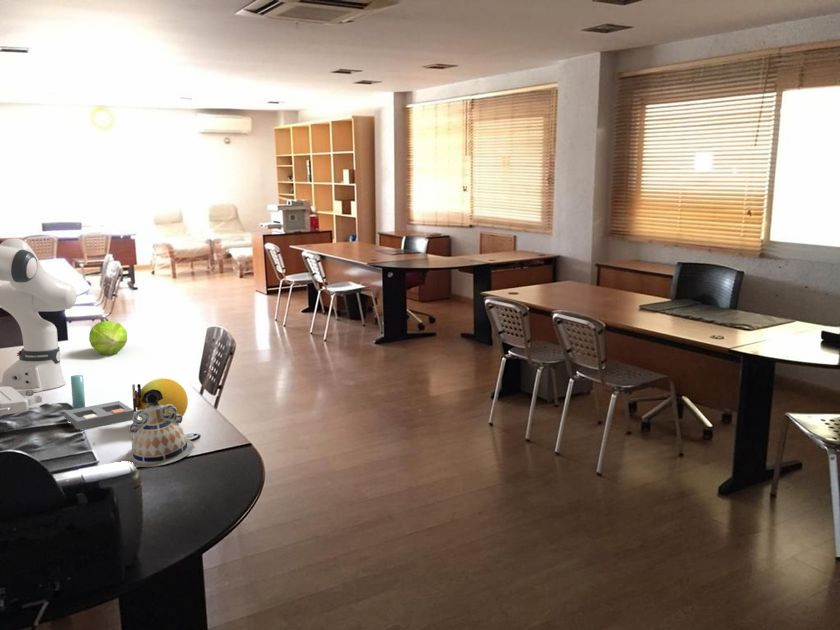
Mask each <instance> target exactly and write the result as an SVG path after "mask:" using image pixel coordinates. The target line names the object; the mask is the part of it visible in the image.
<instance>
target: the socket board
mask: <svg viewBox="0 0 840 630" xmlns="http://www.w3.org/2000/svg"><path fill="white" fill-rule="evenodd" d="M134 413H135V412H134V410H133V409H132V407H130V406H128V405H126V404H125V403H123V402H122V401H120V400H117V401H111V402H106V403H105V402H104V403H100V404H96V405H88V406H85V407H83V408H78V409H73V408H72V409H69V410H68V409H67V410H63V418H64V417H65V418H66V419H67V420H68V421H69V422H71V423H72V424H73V425H74V426H75V427H76V428H77V429H83V430H82V431H84V430H89V429H94V428H99V427H104V426H110V425H113V424H118V423H123V422H128V421H132V418H133V414H134Z"/></svg>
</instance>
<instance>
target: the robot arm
mask: <svg viewBox="0 0 840 630" xmlns="http://www.w3.org/2000/svg"><path fill="white" fill-rule="evenodd" d="M0 281H5V282H6V283H3V284H1V285H0V308H1V309H2V310H4V311H5V312H7V313H9V314H10V315H11V316H12V317H13V318H14V320H15V321H16V322H17V324H18V325H19V328H20V331H21V335H22V344H23V345H22V346H23V348H22V349H21V350H19V351H18V352H17V353H16V357H18V360H16V362H13V364H11V365H10V366H9V367H8V368H6V369H5V370H4V371H3V374H2V378H1V379H2V380H1V382H0V415H11V414H12V415H13V414H18V413H26V412H28V411H29V410H30V408H29V407H30V406H33V405H35V404H38V403H42V402H43V397H42V396H40V395H36V396H33V395H34V393H39V392H42V391H47V390H52V389H56V388H59V387H62V386H65V385H66V380H65V378H64V375H63V371H62V367H61V350H60V347H59V344H58V343H59V342H58V329H57V327H56V326H55V324H54V323H53V322H51V321H48V320H47V319H44V318H43V317H41V315H40V314H39V312H59V311H60V312H61V311H64V310H65V311H66V310H70V309H72V308H73V307H74V305H75V304H76V301H77V292H76V290H75V289H76V288H75V287H74V286H73V285H72V284H71V283H69V282H66V281H62V280H61V279H58V278H57V277H54V276H53V275H51V274H49V272H47V271H46V270H45V269H44V268H43V266H42V265H41V262H40V260H39V258H38V256H37V255H36V253H35V251H34V250H33V249H32V247H31V246H30V245H29V244H28V243H27V242H26V241H25V240H23V239H20V238H17V237H13V238H7V239H5V240H3V241H2V242H1V243H0ZM31 396H33V397H31ZM26 397H27V398H26ZM29 397H30V398H29Z"/></svg>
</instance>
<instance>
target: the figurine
mask: <svg viewBox="0 0 840 630" xmlns="http://www.w3.org/2000/svg"><path fill="white" fill-rule="evenodd" d="M161 399H163V397H162V394H161V392H160V391H159V390H155V389H152V390H150V391H147V392H146V393H145V394H144V395H143V399H142V402H143V403H145V405H147V404H149V405H148V406H147V407H146V409H145V410H138V411H137V409H138V407H137V408H136V412H134V414H133V418H132V420H131V422H132V423H131V424H129V427H128V432H129V434H131V433H132V434H133V437H132V440H131V448H130V450H129V451H127V453H126V454H125V456H124V460H125V462H127V461H130V462H133V463H134V464H135V465H134V464H133V465H134V466H136V467H139V468H142V467H143V468H148V467H149V468H150V467H151V468H152V467H159V466H163V465H164V466H165V465H167V464H171V463H174V462H176V461H179V460H181V459H183V458H184V457H187V456H188V455H190V454H191V453H192V452H193V449H194V447H195V444H194V442H193V441H192V440H191V439H188V438H187V437H186V436H187V435H186V434H185V431H184V429H183V427H182V426H181V425H180V424H181V423H182V421H183V417H184V416H183V417H182V416H181V415H180V414H177V409H176V407H175V406H174V405H172V404H167V405H164V406H162V405H160V404H158V401H160V400H161ZM146 403H147V404H146ZM168 409H169V410H171V411H168V413H170V414H166V411H167V410H168ZM139 415H140V416H143V418H144V419H142V418H141V417H139ZM138 418H140V419H138Z"/></svg>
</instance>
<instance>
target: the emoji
mask: <svg viewBox="0 0 840 630" xmlns="http://www.w3.org/2000/svg"><path fill="white" fill-rule="evenodd" d="M131 386H132V388H131V389H132V402H133V403H132V407H133V410H134V413H135V412H136V411H138V410H145V409H146V407H147V406H148V405H149V404H147V403H146V404H147V405H145V403H143V402H142V399H143V395H144V394H145V393H146V392H147V391H150V390H152V389H155V390H159V391H160V392H161V394H162V397H163V399H161V400H160V401H158V404H160V405H162V406H164V405H167V404H172V405H174V406H175V407H176V409H177V414H180V415H181V416H182V417H184V416H185V414H186V412H187V409H188V405H189V399H188V394H187V392H186V389H184V387H183V386H182V385H181V384H180V383H179V382H177V381H175V380H173V379H171V378H162V377H161V378H157V379H153V380H151V381H148V382H147V383H146V384H144V385H143V387H141V383H138V384H137V385H136V384H131ZM136 387H137V390H136ZM137 407H138V409H137ZM168 411H171V410H169V409H168V410H167V411H166V414H170V413H168ZM138 418H141V420H142V419H144V418H143V416H140V415H139V416H138Z"/></svg>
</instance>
